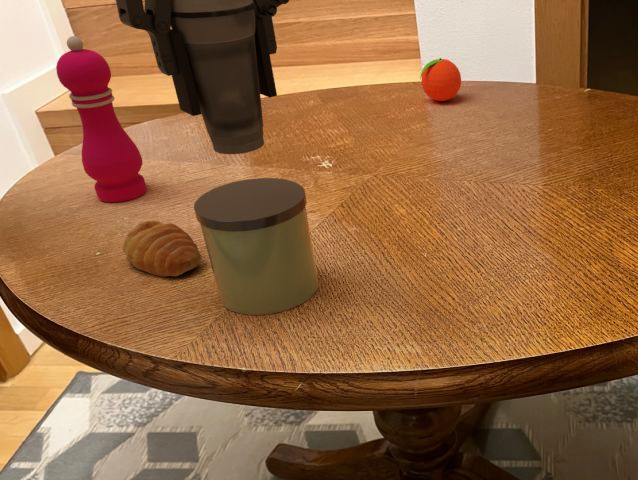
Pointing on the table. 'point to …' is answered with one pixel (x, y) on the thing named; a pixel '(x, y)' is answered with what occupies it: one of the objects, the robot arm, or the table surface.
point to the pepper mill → (100, 125)
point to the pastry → (161, 249)
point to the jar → (259, 244)
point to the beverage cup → (223, 69)
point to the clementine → (441, 79)
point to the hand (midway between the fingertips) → (229, 102)
